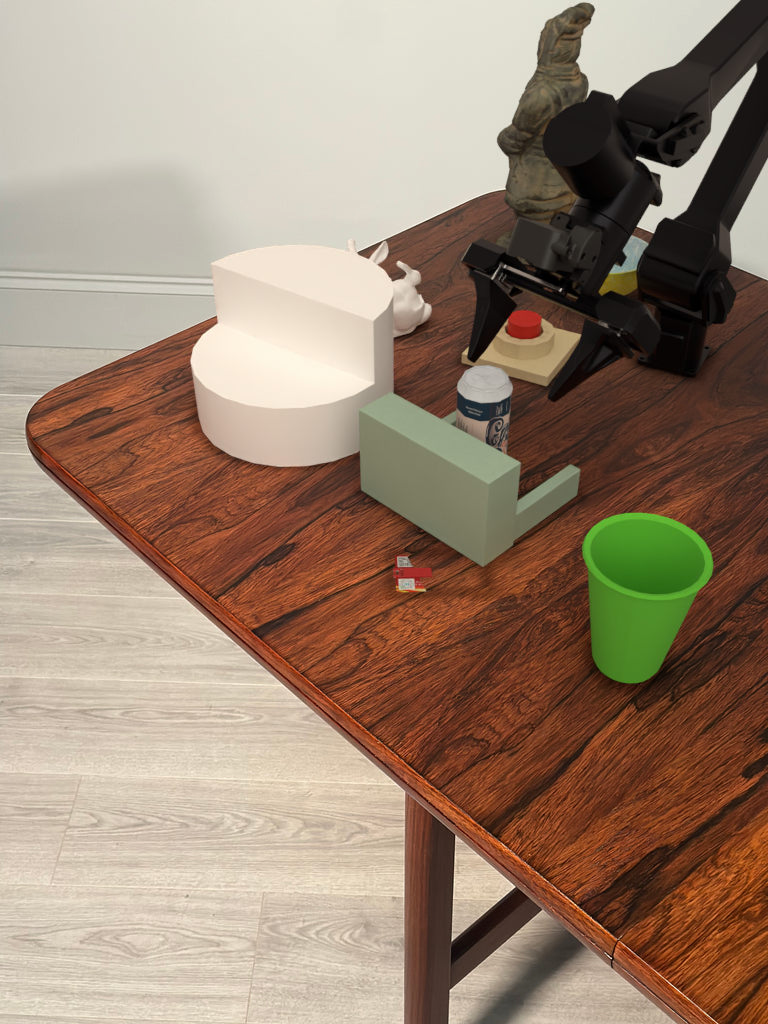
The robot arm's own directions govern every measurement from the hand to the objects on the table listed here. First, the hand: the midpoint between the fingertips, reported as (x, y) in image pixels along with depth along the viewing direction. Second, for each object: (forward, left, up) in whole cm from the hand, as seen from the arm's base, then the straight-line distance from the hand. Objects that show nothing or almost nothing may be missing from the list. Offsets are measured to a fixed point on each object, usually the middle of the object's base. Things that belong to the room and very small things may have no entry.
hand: (509, 380), depth 92 cm
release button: (-21, -7, -8) cm, 23 cm away
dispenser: (+4, -1, -10) cm, 11 cm away
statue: (-45, -16, -10) cm, 49 cm away
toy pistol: (+15, +1, -11) cm, 19 cm away
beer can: (+3, -1, -10) cm, 11 cm away
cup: (+17, +18, -10) cm, 27 cm away
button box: (-21, -7, -10) cm, 24 cm away
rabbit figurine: (-19, -24, -10) cm, 32 cm away
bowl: (-37, -4, -10) cm, 38 cm away
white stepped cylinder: (0, -23, -10) cm, 25 cm away
